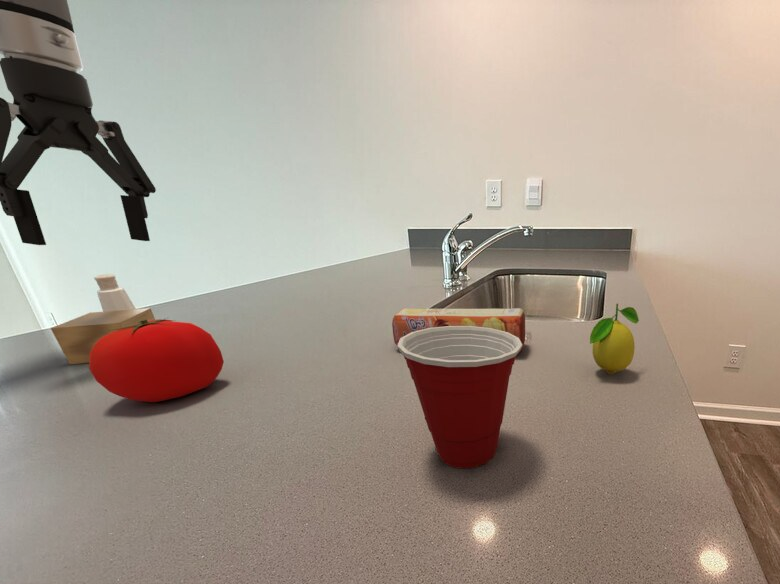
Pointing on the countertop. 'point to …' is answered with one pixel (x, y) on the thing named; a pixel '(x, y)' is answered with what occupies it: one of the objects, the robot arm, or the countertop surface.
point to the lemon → (614, 341)
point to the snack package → (459, 320)
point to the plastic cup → (462, 387)
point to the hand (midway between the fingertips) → (93, 242)
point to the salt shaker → (112, 294)
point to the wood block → (94, 331)
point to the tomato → (156, 360)
